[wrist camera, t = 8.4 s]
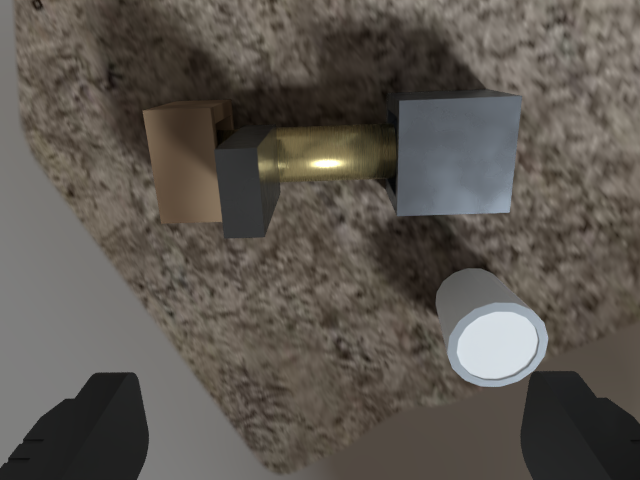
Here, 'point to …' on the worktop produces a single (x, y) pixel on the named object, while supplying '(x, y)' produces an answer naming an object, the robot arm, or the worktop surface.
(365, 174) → the slide bolt
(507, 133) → the block
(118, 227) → the worktop surface
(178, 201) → the socket block
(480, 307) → the shot glass
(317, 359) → the worktop surface
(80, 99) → the worktop surface
